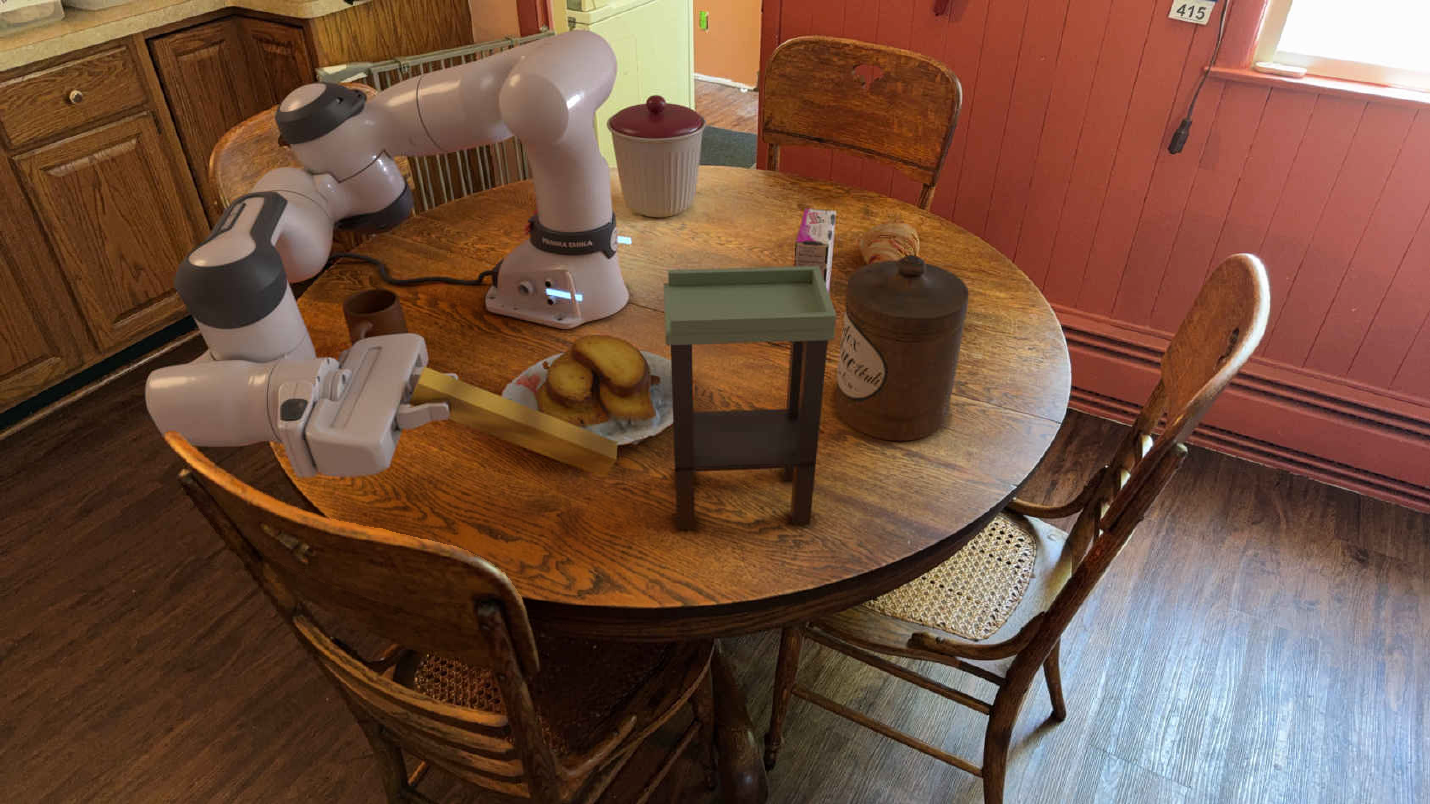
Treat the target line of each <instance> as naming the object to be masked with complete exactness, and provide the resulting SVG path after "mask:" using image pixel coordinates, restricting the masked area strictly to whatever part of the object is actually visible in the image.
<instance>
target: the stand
mask: <svg viewBox="0 0 1430 804" xmlns="http://www.w3.org/2000/svg"><path fill="white" fill-rule="evenodd" d="M667 276H668V278H667V280H668V282H665V283H663V303H664V304H663V305H664V306H663V309H664V337H665V339H664V340H665V346H670V360H671V371H672V401H673V423H672V427H673V430H672V431H673V455H674V456H673V457H674V458H673V459H674V461H673V462H674V485H675V511H676V512H675V513H676V530H677V531H690V530H695V529H696V516H695V515H696V513H695V512H696V508H695V506H696V505H695V503H696V501H695V473H696V472H718V471H719V472H720V471H749V470H770V469H771V470H773V469H781V472H782V477H783V480H784V482H792V484H791V485H792V486H791V487H792V488H791V500H790V512H789V514H790V519H791V524H792V526H803V525H804V526H807V525H810V524H811V519H812V509H813V498H814V488H815V478H816V467H817V458H818V457H817V456H818V446H819V435H820V426H821V417H822V416H821V414H822V406H823V395H824V385H825V376H826V364H827V354H828V343H829V341H834V340H835V335H836V334H835V333H836V325H837V314H836V311H835V308H834V305H833V302H832V299H831V296H830V292H829V293H828V290H827V287H826V284H825V281H824V278H823V275H822V273H821V270H820V267H819V266H796V267H794V266H765V267H764V266H763V267H728V268H727V267H726V268H691V269H690V268H689V269H668V270H667ZM782 342H783V343H785V342H790V345H789V361H788V362H789V363H788V374H787V378H788V379H787V392H786V407H785V408H773V409H770V408H769V409H747V410H745V409H744V410H743V409H742V410H720V411H718V410H717V411H714V410H713V411H694V401H693V384H694V381H693V377H694V376H693V375H694V374H693V370H694V369H693V346H694V345H718V344H719V345H720V344H721V345H724V344H753V343H754V344H755V343H756V344H757V343H782Z"/></svg>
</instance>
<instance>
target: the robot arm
mask: <svg viewBox="0 0 1430 804" xmlns="http://www.w3.org/2000/svg"><path fill="white" fill-rule="evenodd" d="M617 74H618V61H617V57H616V54H615V52H614V50H613V48H612V46H611V45H610V44H609V42H608V41H607V40H606V39H605V38H604V37H603V36H601V35H600V34H598V33H596V32H594V31H591V30H589V29H588V30H587V29H575V30H569V31H568V30H567V31H564V32H560V33H557V34H553V35H550V36H547V37H542V38H540V39H537V40H533V41H531V42H528V43H524V44H521V45H519V46H515V47H512V48H509V49H506V50H504V51H500V52H498V53H495V54H492V55H489V56H487V57H484V58H483V57H482V58H481V59H478V60H474V61H470V62H466V63H462V64H459V65H454V66H450V67H448V68H447V67H446V68H443V69H439V70H435V71H429V72H426V73H423V74H420V75H417V76H414V77H411V78H408V79H405V80H402V81H401V82H400V81H399V82H398V83H395V84H393V85H391V86H389V87H387V88H385V89H383V90H382V91H380V92H379V93H376V95H375V96H374V97H373V98H372V99H371V100H369V101H368V95H367V93H365V92H364V91H363V90H361V89H359V88H348V87H347V86H345V85H342V84H339V83H334V82H331V81H317V82H313V83H309V84H305V85H302V86H300V87H297V88H296V89H294V90H293V91H291V92H290V93H289V94H287V95H286V97H284V99H283V100H281V101H280V102H279V104H278V105H277V107H276V110H275V114H274V120H275V123H276V126H277V130H278V131H279V133H280V136H281V137H282V139H283V141H284V142H285V144H287V145H289V146H290V149H291V150H292V152H293V153H294V155H295V157H296V159H297V161H298V162H299V164H300V165H301V167H302V168H299V167H294V166H281V167H277V168H273V169H271V170H269V171H267V172H266V173H265V174H263V175H262V176H261V177H260V178H259V180H257V181H256V183H255V184H254V185H253V187H252V189H250V191H249V193H246V194H242V195H241V196H239V197H237V198H236V199H234V200H233V201H231V202H230V204H228V206H226V207H225V210H224V211H223V213H222V214H221V215H220V217H219V218H218V220H217V221H216V223H215V224H214V226H213V228H212V229H211V231H210V232H209V233H208V235H207V237H206V238H205V239H204V241H203V242H201V243H199V244H198V245H197V246H195V247H194V248H193V249H192V250H190V251H189V252H188V253H187V254H186V256H185V257H184V258H183V259H182V261H181V263H180V264H179V266H178V268H177V270H176V272H175V276H174V279H173V285H174V289H175V292H176V293H177V295H178V296H179V297H180V299H181V301H182V303H183V304H184V306H185V307H186V309H187V311H188V312H189V314H190V315H191V316H192V318H193V319H194V322H195V324H196V325H197V327H198V329H199V331H200V334H201V336H202V338H203V340H204V342H205V344H206V346H207V347H208V349H207V350H206V351H205V352H204V353H203V354H202V355H200V356H199V357H197V358H196V359H194V360H192V361H191V362H188V363H183V364H174V365H169V366H165V367H161V368H157V369H155V370H153V371H151V372H150V374H149V375H148V377H147V379H146V382H145V386H144V400H145V406H146V412H147V414H148V417H149V418H150V421H151V422H152V424H153V426H154V427H155V429H156V431H157V432H158V433H159V435H160V436H162V437H163V438H164V439H165V432H167V431H171V430H172V431H176V432H178V433H180V434H181V435H182V436H183V437H184V438H185V439H186V440H187V441H188V442H189V443H190V444H192V445H193V446H192V445H191V446H192V447H207V448H208V447H214V448H215V447H218V448H219V447H220V448H222V447H247V446H251V445H254V444H258V443H261V442H269V443H275V444H279V445H282V446H283V448H284V451H285V454H286V456H287V459H288V461H289V463H290V465H291V468H292V470H293V472H294V474H295V476H296V477H298V478H305V479H306V478H313V477H315V476H317V475H318V474H319V473H320V474H321V475H323V476H327V477H332V478H333V477H335V478H339V477H340V478H342V477H343V478H344V477H346V478H350V477H351V478H352V477H353V478H355V477H369V476H375V475H377V474H379V473H382V472H384V471H386V470H388V469H389V468H390V466H391V463H392V460H393V457H394V455H395V452H396V449H397V446H398V444H399V441H400V438H401V435H402V433H403V431H404V430H414V429H416V428H419V427H421V426H423V425H426V424H429V423H431V422H432V421H447V420H449V419H448V418H449V416H450V412H451V406H450V401H449V399H447V398H441V399H439V398H431V401H430V403H427V404H423V405H419V406H416V407H415V406H412V405H410V404H409V401H410V399H411V396H412V393H413V391H414V388H415V386H416V384H417V381H418V379H419V377H420V375H421V373H422V370H423V368H424V367H427V366H428V363H429V353H428V349H427V344H426V341H425V338H424V337H423V336H421V335H420V334H417V333H415V332H414V333H413V332H408V333H405V334H393V335H384V336H376V337H370V338H365V339H362V340H360V341H358V342H356V343H355V344H354V345H353V346H352V345H351V347H349V348H348V349H343V350H342V351H341V352H340V353H339V355H338V359H336V358H334V357H330V356H327V357H326V356H324V357H323V356H322V357H317V354H316V353H317V352H316V350H315V346H314V343H313V341H312V338H311V336H310V333H309V331H308V328H307V326H306V324H305V321H304V319H303V316H302V313H301V312H300V311H301V310H300V308H299V307H298V303H297V301H296V298H295V296H294V293H293V289H292V288H291V285H290V284H296V283H300V282H304V281H306V280H309V279H311V278H313V277H315V276H317V274H319V273H320V272H321V271H322V270H323V268H325V266H326V264H328V263H329V262H330V261H332V260H335V259H342V258H343V259H344V258H345V259H354V260H360V261H364V262H367V263H370V264H374V265H376V266H377V267H378V270H379V275H380V278H381V279H382V280H383V281H384V282H387V283H388V284H392V285H398V286H399V285H401V286H404V285H405V286H406V285H415V284H423V283H433V282H434V283H435V282H436V283H437V282H438V283H439V282H440V283H448V284H453V285H461V286H477V285H480V284H482V283H483V281H484V279H485V277H488V276H490V277H491V283H492V285H491V286H490V288H489V289H488V291H487V293H486V296H485V309H486V311H487V312H489V313H493V314H497V315H502V316H505V317H506V316H507V317H509V318H514V319H519V320H524V321H526V322H531V323H534V324H535V323H536V324H539V325H544V326H547V327H553V328H555V329H556V328H557V329H561V330H571V329H574V328H576V327H578V326H581V325H583V324H585V323H588V322H593V321H598V320H601V319H605V318H608V317H610V316H613V315H614V314H616V313H618V312H619V311H621V310H622V309H623V308H624V307H625V306H626V305H627V303H628V302H629V298H630V293H629V291H628V289H627V285H626V282H625V281H624V277H623V273H622V271H621V267H620V262H619V257H618V247H619V243H620V244H628V245H631V244H632V237H627V236H619V231H618V225H617V219H616V213H615V212H614V210H613V202H612V201H613V200H612V188H611V186H612V185H611V175H610V166H609V163H608V161H607V159H606V158H605V157H604V156H603V155H602V153H601V150H600V147H599V144H598V140H597V137H596V133H595V125H594V124H595V116H596V112H597V111H598V109H599V108H600V107H602V106H603V104H605V102H607V100H608V99H609V97H610V96H611V94H612V92H613V89H614V86H615V82H616V78H617ZM513 137H516V138H517V139H518V140H519V141H520V143H521V146H522V148H523V150H524V153H525V155H526V158H527V161H528V164H529V167H530V171H531V176H532V182H533V189H534V197H535V205H536V208H535V209H533V212H532V213H533V214H532V216H531V217H530V218H528V219H527V224H526V225H525V226H524V228H523V231H524V236H525V237H526V236H527V235H529V237H527V238H526V239H525V240H524V241H522V242H521V243H519V244H518V245H517V246H516V247H514V248H513V249H512V250H511V251H510V252H509V253H507V255H506V256H505V258H502V259H501V260H499V261H498V262H497V264H495V266H493V268H492V269H489V270H485V271H482V272H480V273H479V275H478V277H477V279H473V280H463V279H458V278H454V277H448V276H424V277H416V278H408V279H397V278H392V277H389V276H388V275H387V274H386V270H385V266H384V264H383V263H382V261H380V260H379V259H377V258H373V257H371V256H367V255H363V254H359V253H353V252H352V253H351V252H336V253H332V254H331V251H332V245H333V238H334V229H335V230H336V231H338V232H340V233H354V234H357V235H364V236H365V235H367V236H373V235H375V236H376V235H381V234H385V233H387V232H389V231H392V230H394V229H395V228H397V227H398V226H400V225H402V224H403V222H405V220H407V219H408V218H409V217H410V215H411V212H412V210H413V208H414V204H415V199H414V196H413V193H412V190H411V187H410V184H409V182H408V180H407V179H406V178H405V177H403V175H402V173H401V171H400V169H399V167H398V165H397V162H396V161H395V159H394V158H396V157H432V156H438V155H445V154H450V153H456V152H461V151H465V150H470V149H475V148H479V147H485V146H489V145H492V144H497V143H501V142H505V141H506V140H508V139H509V140H510V139H511V138H513ZM443 374H445V375H448V376H450V377H453V378H455V379H458V380H459V376H458V375H457V374H456V373H455V372H450V373H449V372H447V373H445V372H443Z"/></svg>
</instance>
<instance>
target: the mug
mask: <svg viewBox="0 0 1430 804" xmlns="http://www.w3.org/2000/svg"><path fill="white" fill-rule="evenodd" d="M342 310H343V311H342V312H343V316H344V320H345V324H346V327H347V331H348V334H349V337H350V341H351V347H352V346H353V345H354V344H355V343H356V342H358V341H360V340H362V339H365V338H370V337H376V336H384V335H393V334H405V333H409V329H408V325H407V321H406V317H405V313H404V309H403V305H402V303H401V300H400V297H399V295H398V294H397V293H396V292H395V291H393V290H391V289H387V288H370V289H366V290H361V291H358V292H356V293H354V294H351V295H350V296H348V297H347V298H346V299H345V300H344V302H343V303H342Z"/></svg>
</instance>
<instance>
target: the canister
mask: <svg viewBox="0 0 1430 804" xmlns="http://www.w3.org/2000/svg"><path fill="white" fill-rule="evenodd" d="M606 127H607V130H608V131H609V132H610V133H611V138H612V145H613V150H614V155H615V157H614V158H615V163H616V168H617V172H618V178H619V183H620V188H621V192H622V193H621V194H622V196H623V200H624V202H625V205H626V206H627V207H628V208H629V209H630V210H631V211H633V212H634V213H636V214H638V215H641V216H644V217H650V218H667V217H673V216H676V215H677V216H678V215H679V214H682V213H685V212H686V211H688V209H690V207H691V206H692V205H693V203H694V201H695V198H696V192H697V186H698V178H699V171H700V170H699V169H700V159H701V151H702V141H703V131H704V130H705V129H706V127H707V120H706V118H705V116H703V115H702V114H701V113H699V112H697V111H696V110H695V109H692V108H691V107H688V106H684V105H681V104H676V103H669V102H668V103H667V101H666V100H665V97H663V96H662V95H659V94H654V95H650V96H649V97H648V98H647V99H646V101H645V103H640V104H634V105H631V106H627V107H625V108H623V109H620V110H619V111H618V112H616V113H614V114H613V115H611V116H610V117H609V118H608V119H607V121H606Z"/></svg>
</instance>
